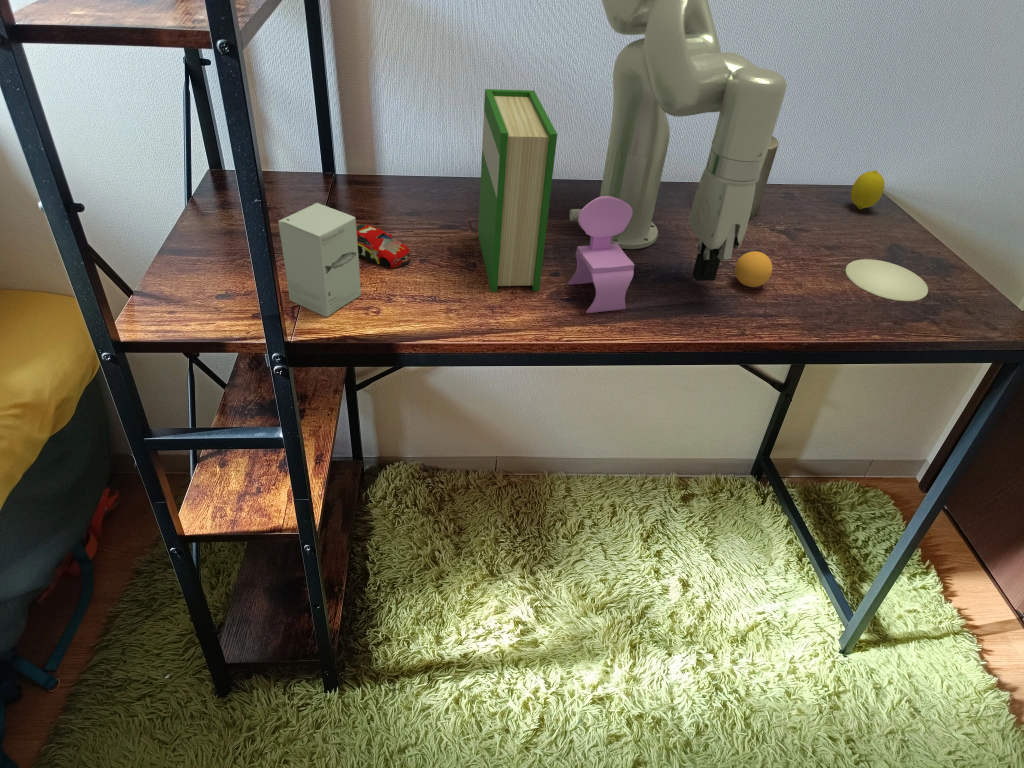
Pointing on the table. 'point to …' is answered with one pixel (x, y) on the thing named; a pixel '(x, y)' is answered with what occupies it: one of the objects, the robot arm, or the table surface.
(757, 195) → the pillar candle
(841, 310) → the table surface
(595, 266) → the toy chair
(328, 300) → the supplement box
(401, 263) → the race car
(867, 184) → the lemon
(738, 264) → the ball
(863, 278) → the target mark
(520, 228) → the hardback book
